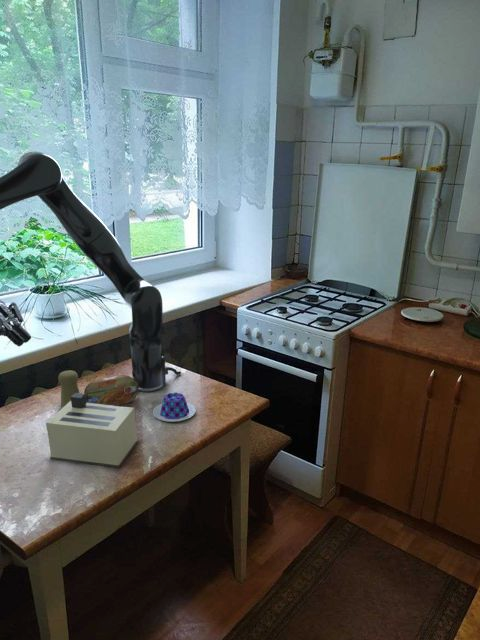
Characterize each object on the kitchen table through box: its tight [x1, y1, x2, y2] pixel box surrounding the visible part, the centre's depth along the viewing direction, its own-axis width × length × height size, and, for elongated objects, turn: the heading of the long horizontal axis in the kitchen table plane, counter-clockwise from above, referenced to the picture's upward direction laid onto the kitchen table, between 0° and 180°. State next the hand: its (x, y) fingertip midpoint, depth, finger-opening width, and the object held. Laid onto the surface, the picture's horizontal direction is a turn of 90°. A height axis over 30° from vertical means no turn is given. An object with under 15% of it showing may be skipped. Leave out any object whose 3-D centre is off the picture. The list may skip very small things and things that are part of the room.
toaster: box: [45, 401, 139, 469], centre depth 121 cm, size 13×17×10 cm
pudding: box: [152, 392, 197, 422], centre depth 140 cm, size 12×12×5 cm
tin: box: [83, 374, 139, 406], centre depth 143 cm, size 15×3×8 cm, turn 117°
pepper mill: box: [58, 369, 81, 410], centre depth 140 cm, size 6×6×11 cm
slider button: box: [71, 392, 86, 408], centre depth 122 cm, size 2×3×3 cm
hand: (25, 341), depth 118 cm, fingers closed
